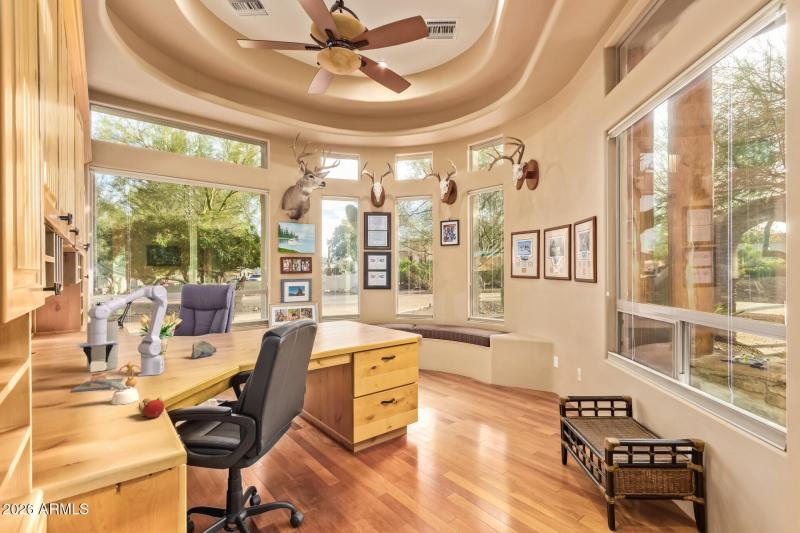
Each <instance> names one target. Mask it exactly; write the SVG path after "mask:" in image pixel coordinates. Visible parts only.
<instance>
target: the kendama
mask: <svg viewBox="0 0 800 533" xmlns="http://www.w3.org/2000/svg"><path fill="white" fill-rule="evenodd" d="M138 408H139V409H138V410H139V413H140V416H141V417H145V416H146V417H147V418H150V419H155V418H157V417H160V415H162V413H163V412H164V410H165V404H164V401H163V398H162V397H161V396H160V397H157V399H152V400H151V398H150V397H146V398H144V399H143V400H142V402H141V401H140V402H138Z"/></svg>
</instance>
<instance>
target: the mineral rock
mask: <svg viewBox="0 0 800 533" xmlns="http://www.w3.org/2000/svg"><path fill="white" fill-rule="evenodd" d="M191 350H192V352H191V358H192V360H193V359H194V360H195V359H196V360H197V359H201V358H206V357H209V356H211V355H212V354H215V353H217V351H218V350H217V347H216V346H213V345H212V344H211V343H210V342H208V341H205V340H200V341H199V342H194V343H192V348H191Z"/></svg>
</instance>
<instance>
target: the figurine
mask: <svg viewBox="0 0 800 533" xmlns="http://www.w3.org/2000/svg"><path fill="white" fill-rule="evenodd" d="M133 367H137V369H139V370H140V372H141V371H142V370H141V366H139V365H137V364H133V363H132V361H131V360H129V361H128V363H127V364H124V365H123V366H121V367H120V368H119V370H118V374H120V373H121V371H122V369H123V368H127V369H126V374H127V380H126V381H125V385H124V386H125V387H132V388H135V387H136V385H137V380H136V379H135V378H134V374H135V370H134V369H133ZM130 373H131V378H130Z"/></svg>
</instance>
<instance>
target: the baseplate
mask: <svg viewBox="0 0 800 533" xmlns="http://www.w3.org/2000/svg"><path fill="white" fill-rule="evenodd" d="M109 379H110V380H114V381H117V382H120V383H121V382H123V381H124V378H123V377H119V378H109ZM122 380H123V381H122ZM87 381H88V380H87ZM87 381H85V382H87ZM85 382H83V383H81V384H79V385H78V386H76V387H73V388H71V389H70V393H79V392H80V393H81V392H93V391H94V390H95V391H105V390H104V389H107V390H111V389H112V387H110V386H108V385H97V386H90V384H84V383H85ZM83 384H84V385H83Z"/></svg>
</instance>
